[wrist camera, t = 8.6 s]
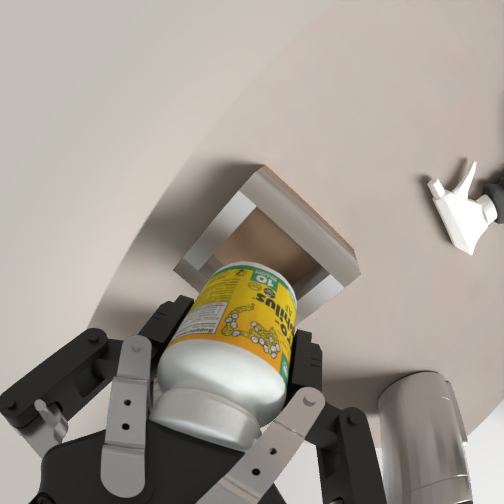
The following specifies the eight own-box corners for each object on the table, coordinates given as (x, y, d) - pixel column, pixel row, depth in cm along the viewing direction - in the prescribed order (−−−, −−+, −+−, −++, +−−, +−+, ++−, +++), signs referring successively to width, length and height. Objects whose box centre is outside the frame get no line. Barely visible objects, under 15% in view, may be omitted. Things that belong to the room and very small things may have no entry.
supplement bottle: (191, 276, 16) (99, 402, 8) (272, 243, 14) (217, 399, 6) (235, 343, 18) (186, 472, 9) (311, 321, 16) (298, 475, 7)
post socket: (265, 164, 20) (254, 172, 17) (353, 249, 22) (360, 274, 18) (193, 248, 24) (173, 269, 21) (273, 315, 26) (266, 346, 22)
